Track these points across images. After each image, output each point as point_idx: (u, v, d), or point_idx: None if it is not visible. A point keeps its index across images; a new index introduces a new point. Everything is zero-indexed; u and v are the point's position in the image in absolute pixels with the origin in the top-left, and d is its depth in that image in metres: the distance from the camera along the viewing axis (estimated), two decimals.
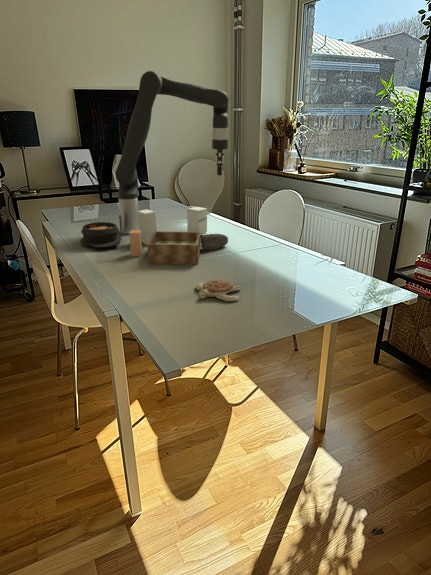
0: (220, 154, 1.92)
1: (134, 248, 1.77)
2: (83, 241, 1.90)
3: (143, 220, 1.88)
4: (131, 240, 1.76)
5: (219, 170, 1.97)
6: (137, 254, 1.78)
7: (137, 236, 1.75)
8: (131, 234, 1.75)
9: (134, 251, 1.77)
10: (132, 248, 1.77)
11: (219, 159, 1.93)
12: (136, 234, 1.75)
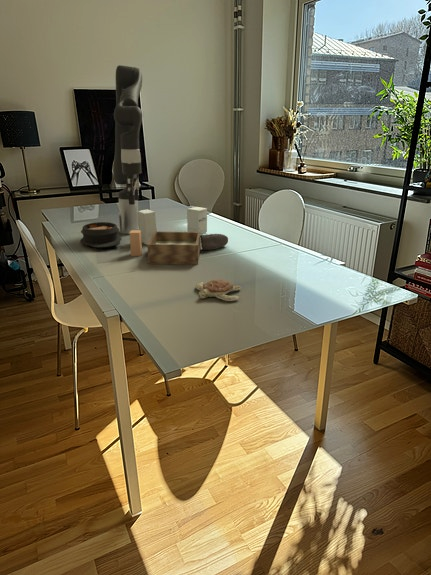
0: (129, 180, 1.62)
1: (134, 248, 1.77)
2: (83, 241, 1.90)
3: (143, 220, 1.88)
4: (131, 240, 1.76)
5: None
6: (137, 254, 1.78)
7: (137, 236, 1.75)
8: (131, 234, 1.75)
9: (134, 251, 1.77)
10: (132, 248, 1.77)
11: (128, 186, 1.62)
12: (136, 234, 1.75)
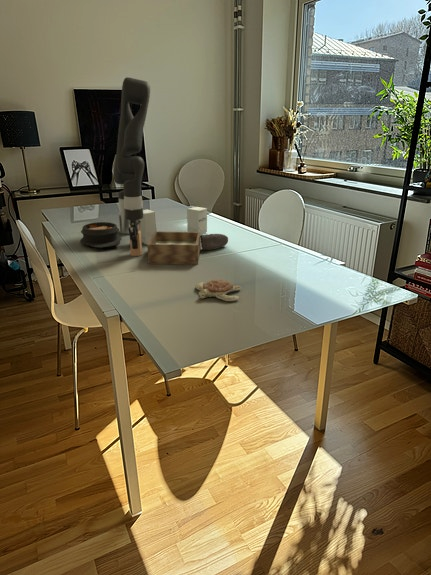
0: (132, 230, 1.69)
1: None
2: (83, 241, 1.90)
3: (143, 220, 1.88)
4: (131, 240, 1.76)
5: None
6: (137, 254, 1.78)
7: (137, 236, 1.75)
8: None
9: (134, 251, 1.77)
10: (132, 248, 1.77)
11: (132, 234, 1.71)
12: None
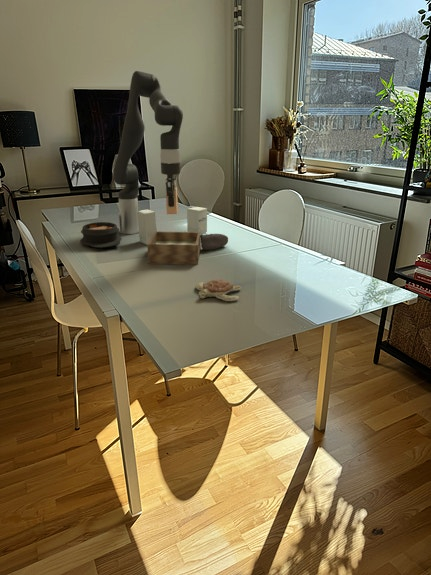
0: (169, 184, 1.60)
1: None
2: (83, 241, 1.90)
3: (143, 220, 1.88)
4: (167, 197, 1.66)
5: None
6: (173, 212, 1.69)
7: (174, 193, 1.66)
8: None
9: (170, 209, 1.68)
10: (168, 206, 1.68)
11: (169, 190, 1.61)
12: None
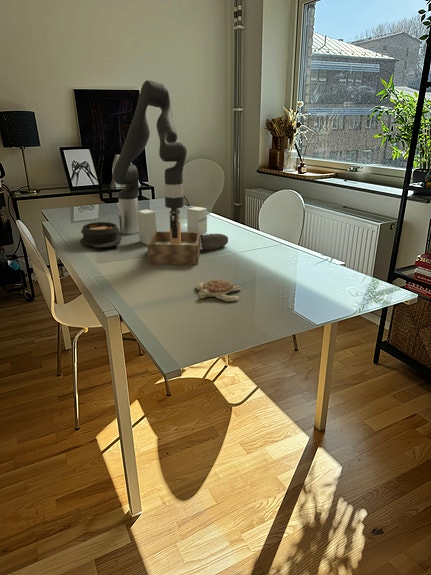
0: (173, 218, 1.65)
1: None
2: (83, 241, 1.90)
3: (143, 220, 1.88)
4: (171, 229, 1.72)
5: None
6: None
7: (177, 225, 1.71)
8: None
9: (174, 241, 1.73)
10: (171, 238, 1.73)
11: (173, 223, 1.67)
12: None
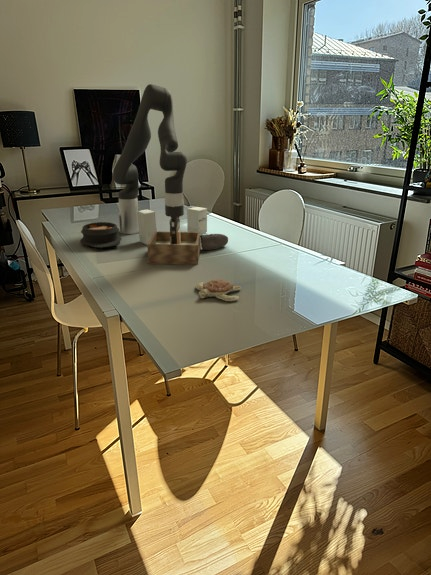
0: (173, 224, 1.66)
1: None
2: (83, 241, 1.90)
3: (143, 220, 1.88)
4: None
5: None
6: None
7: (177, 235, 1.73)
8: None
9: None
10: None
11: (172, 229, 1.67)
12: None
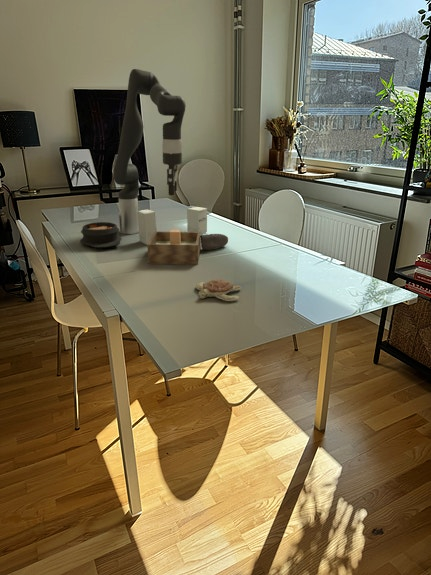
0: (171, 171, 1.61)
1: None
2: (83, 241, 1.90)
3: (143, 220, 1.88)
4: (171, 239, 1.73)
5: None
6: None
7: (177, 235, 1.73)
8: (171, 233, 1.72)
9: None
10: None
11: (170, 177, 1.61)
12: (176, 233, 1.72)
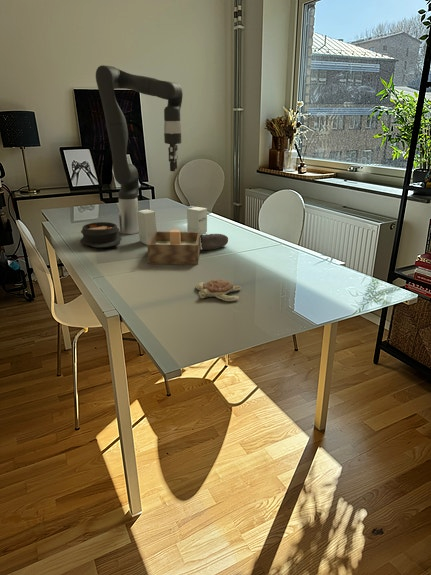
0: (172, 149, 1.82)
1: None
2: (83, 241, 1.90)
3: (143, 220, 1.88)
4: (171, 239, 1.73)
5: None
6: None
7: (177, 235, 1.73)
8: (171, 233, 1.72)
9: None
10: None
11: (171, 154, 1.82)
12: (176, 233, 1.72)
